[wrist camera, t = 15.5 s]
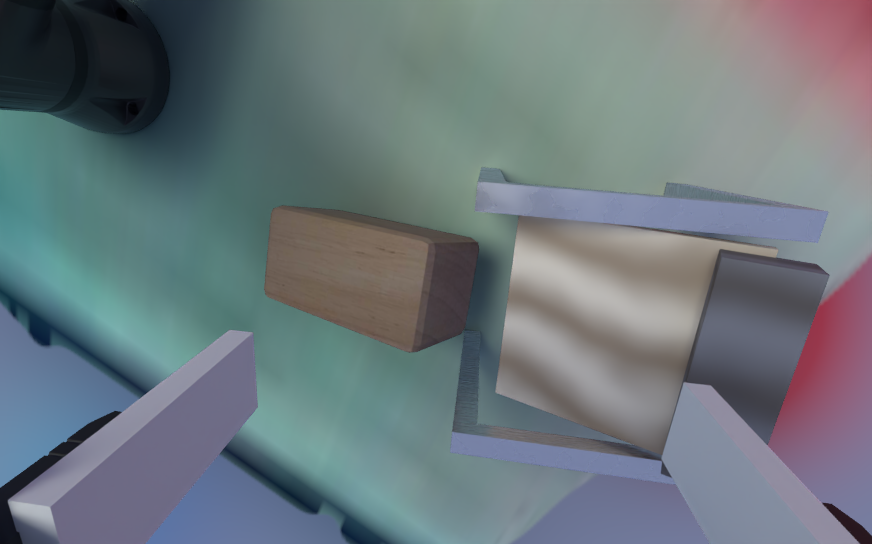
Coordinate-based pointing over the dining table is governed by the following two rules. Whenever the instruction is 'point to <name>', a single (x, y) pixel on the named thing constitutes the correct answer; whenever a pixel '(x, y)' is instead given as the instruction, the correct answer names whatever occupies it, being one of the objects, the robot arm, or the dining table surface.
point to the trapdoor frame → (670, 211)
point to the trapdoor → (650, 325)
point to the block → (371, 274)
